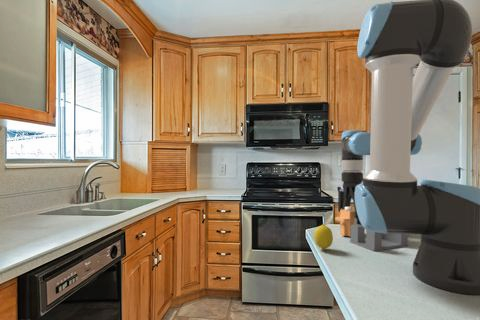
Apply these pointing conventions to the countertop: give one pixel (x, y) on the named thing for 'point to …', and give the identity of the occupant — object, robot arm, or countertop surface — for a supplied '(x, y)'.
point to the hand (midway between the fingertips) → (352, 233)
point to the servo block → (346, 220)
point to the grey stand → (376, 239)
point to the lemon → (323, 237)
